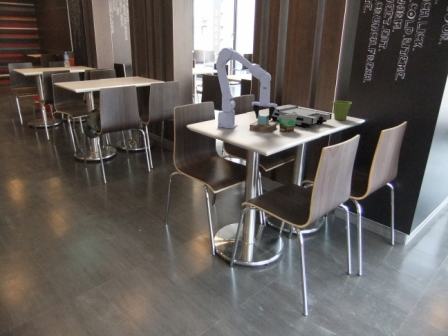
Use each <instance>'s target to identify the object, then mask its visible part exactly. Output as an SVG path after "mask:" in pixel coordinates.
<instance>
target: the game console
mask: <svg viewBox="0 0 448 336" xmlns="http://www.w3.org/2000/svg"><path fill="white" fill-rule="evenodd" d="M293 112H296V113H297V118H296V122H295V127H298V128H302V129H307V128H310V127H311V126H314V125H317V126H319V125H321V124H324V123H326V122H328V121H329V120H332V116H333V115H332V114H333V113H330V112H323V111H318V110H311V109H307V108H301V107H299V106H298V105H296V104H295V105H294V104H286V105H284V104H283V105H281V106H279V105H278V106H277V108H276V109H275V110H274V112H273V115H272V118H271V120H272V121H271V122H274V123H279V114H283V115H285V114H292V113H293Z"/></svg>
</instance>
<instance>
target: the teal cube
mask: <svg viewBox="0 0 448 336" xmlns="http://www.w3.org/2000/svg"><path fill="white" fill-rule="evenodd" d="M257 121H258V124H260V125H267V124H269V122H270V120H269V114H265V113H259V115H258V119H257Z"/></svg>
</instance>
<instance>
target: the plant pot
mask: <svg viewBox="0 0 448 336" xmlns="http://www.w3.org/2000/svg"><path fill="white" fill-rule="evenodd" d="M352 103H353V102H352V101H347V100H334V101H332V105H333V117H334V120H337V121H347V120H346V119H348V118H347V117H348V114H349V110H350V108H351V105H352Z"/></svg>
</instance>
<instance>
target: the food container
mask: <svg viewBox="0 0 448 336" xmlns="http://www.w3.org/2000/svg"><path fill="white" fill-rule="evenodd" d="M296 118H297V113H296V112H293V113H292V114H285V115H283V114H279V122H278V123H279V124H278V125H279V132H280V133H293V132H294V131H295V129H296V128H295V127H296V126H295V122H296Z"/></svg>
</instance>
